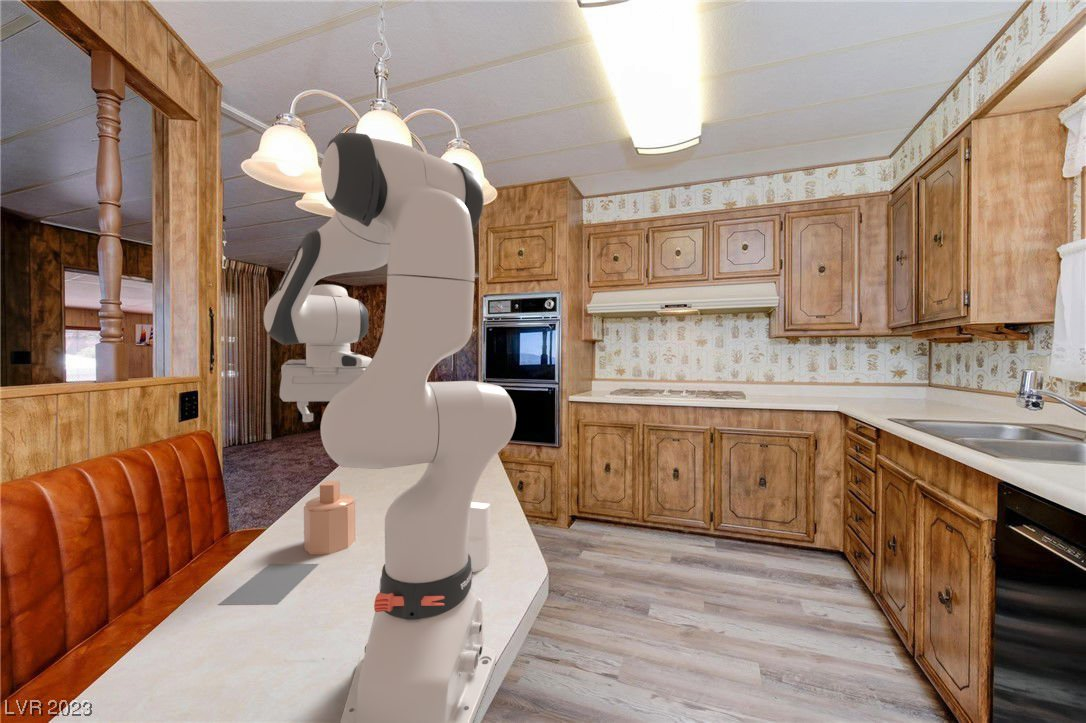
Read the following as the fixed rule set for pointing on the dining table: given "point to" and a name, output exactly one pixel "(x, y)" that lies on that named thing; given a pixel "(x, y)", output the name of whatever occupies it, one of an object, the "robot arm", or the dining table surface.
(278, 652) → the dining table surface
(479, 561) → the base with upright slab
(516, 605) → the dining table surface
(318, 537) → the cloche
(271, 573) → the mat
